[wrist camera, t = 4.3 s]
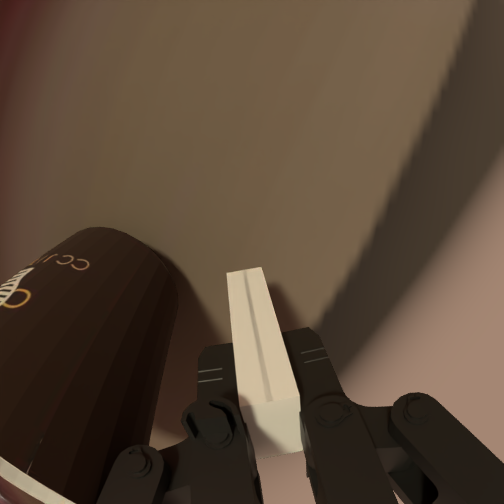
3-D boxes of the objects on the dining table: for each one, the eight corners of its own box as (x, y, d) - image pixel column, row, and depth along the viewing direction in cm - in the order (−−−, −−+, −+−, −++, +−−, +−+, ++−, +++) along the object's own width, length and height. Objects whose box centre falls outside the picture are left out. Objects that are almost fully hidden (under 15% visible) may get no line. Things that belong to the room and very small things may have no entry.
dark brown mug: (201, 209, 12) (63, 485, 3) (205, 364, 16) (159, 547, 7) (-8, 197, 12) (-144, 311, 4) (32, 324, 17) (-46, 442, 8)
